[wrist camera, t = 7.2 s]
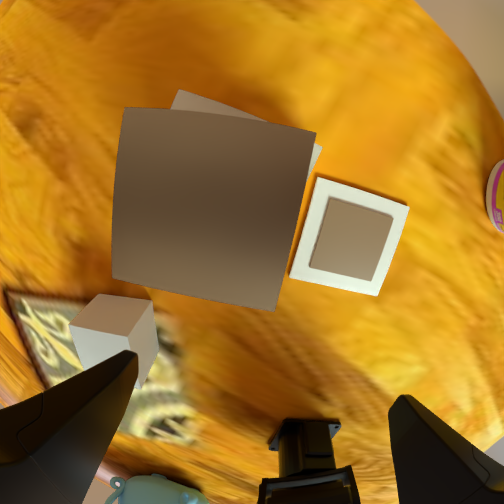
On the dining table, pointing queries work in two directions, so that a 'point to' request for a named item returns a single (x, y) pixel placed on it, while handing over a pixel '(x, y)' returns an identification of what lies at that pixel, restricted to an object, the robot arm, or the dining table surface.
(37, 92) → the dining table surface
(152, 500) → the decorative pot
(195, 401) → the dining table surface
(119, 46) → the dining table surface
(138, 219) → the walnut cube
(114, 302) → the grey cube
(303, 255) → the walnut card
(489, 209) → the supplement bottle
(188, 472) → the dining table surface
